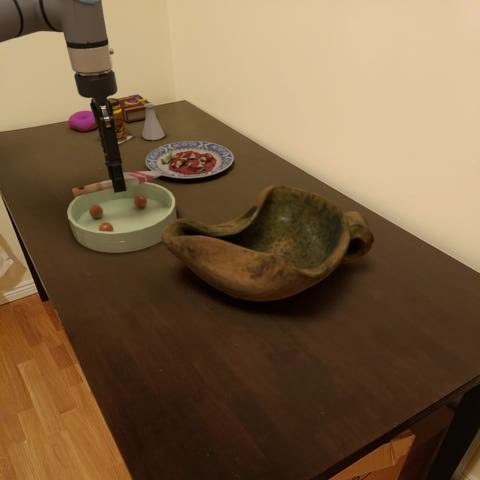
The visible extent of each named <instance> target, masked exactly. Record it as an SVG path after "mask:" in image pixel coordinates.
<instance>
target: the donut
mask: <svg viewBox="0 0 480 480" xmlns="http://www.w3.org/2000/svg"><path fill="white" fill-rule="evenodd" d="M67 124H68V125H69V126H70V128H71V129H73V130H76V131H79V132H83V133H85V132H90V131H93V130H95V129H96V128H98V127H97V125H96V122H95V119H94V115H93V112H92V110H79V111H77V112H74V113H73V114H71V115H70V116H69V118H68V121H67Z"/></svg>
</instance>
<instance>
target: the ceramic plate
mask: <svg viewBox="0 0 480 480" xmlns="http://www.w3.org/2000/svg"><path fill="white" fill-rule="evenodd" d="M234 159H235V158H234V154H233V152H232V151H231V150H229V148H227V147H225V146H224V145H220V144H217V143H214V142H209V141H202V140H201V141H200V140H184V141H177V142H171V143H168V144H167V143H166V144H164V145H161V146H159V147H157V148H154V149H153V150H152V151H150V152H149V153H148V154H147V156H146V157H145V165H146V167H147V168H148V169H149V171H156V170H159V171H160V172H161V174H162V175H161V176H162V177H167V178H171V179H172V178H173V179H182V180H186V179H199V178H201V179H202V178H205V177H210V176H215V175H216V174H219V173H222V172H223V171H226V170H227V169H228V168H229V167H230V166H232V164H233V162H234Z"/></svg>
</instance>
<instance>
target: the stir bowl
mask: <svg viewBox="0 0 480 480" xmlns="http://www.w3.org/2000/svg"><path fill="white" fill-rule="evenodd" d="M126 190H127V191H123V192H118V193H114V189H113V188H110V189H106V190H102V191H98V192H94V193H90V194H84V195H82V196H78V197H74V199H73V200H72V201H71V202H70V203H69V206H68V208H67V210H66V215H67V218H68V221H69V225H70V228H71V231H72V235H73V236H74V239H75V240H76V241H77V242H78V243H79V244H81V245H82V246H83V247H85V248H87V249H89V250H93V251H96V252H101V253H111V254H113V253H114V254H117V253H120V254H123V253H130V252H137V251H140V250H144V249H147V248H150V247H152V246H155V245H157V244H159V243H161V242H162V239H161V237H162V232H163V230H164V229H165V227H166V226H167V225H168V224H169V223H170V222H172V221H174V220H176V219H178V214H177V213H178V212H177V203H176V198H175V196H174V194H173V192H172V191H170V190H169V189H167V188H166V187H164V186H161V185H159V184H156V183H153V182H149V181H146V182H144V183H141V184H139V185H136V186H134V187H131V188H129V189H126ZM137 195H143V196H145V197H146V199H147V205H146V206H145V207H144V208H138V207H137V206H136V205H135V203H134V199H135V197H136V196H137ZM92 205H99V206H100V207H101V208H102V209H103V215H102V216H101V217H100V218H93V217H92V216H91V215H90V213H89V209H90V207H91V206H92ZM104 222H108V223H110V224H111V225H112V226H113V229H114V231H113V232H107V231H99V226H100V224H102V223H104Z"/></svg>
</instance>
